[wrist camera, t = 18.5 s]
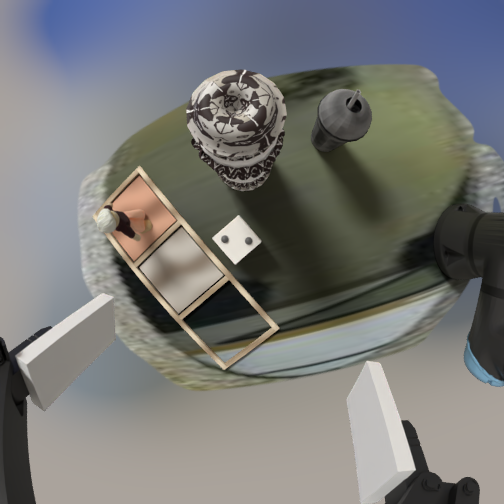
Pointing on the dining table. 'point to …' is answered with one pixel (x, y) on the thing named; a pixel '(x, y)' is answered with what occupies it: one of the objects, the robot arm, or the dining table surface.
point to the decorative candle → (238, 126)
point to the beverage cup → (340, 119)
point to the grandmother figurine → (123, 222)
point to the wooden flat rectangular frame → (173, 258)
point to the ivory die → (237, 239)
